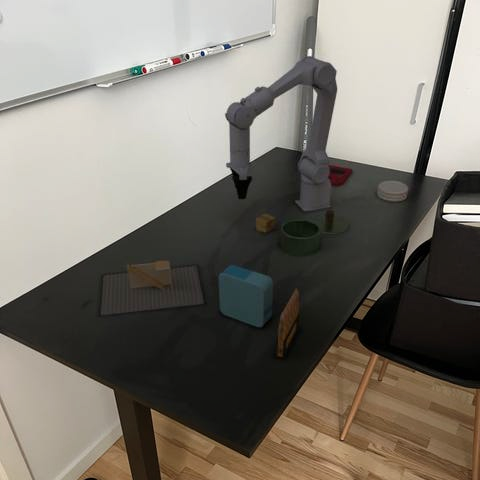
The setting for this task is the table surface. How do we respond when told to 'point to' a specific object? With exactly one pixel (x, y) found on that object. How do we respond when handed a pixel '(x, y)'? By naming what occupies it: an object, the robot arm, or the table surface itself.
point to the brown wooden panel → (288, 325)
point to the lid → (331, 223)
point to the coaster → (392, 191)
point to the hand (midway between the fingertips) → (240, 193)
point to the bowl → (297, 243)
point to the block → (265, 223)
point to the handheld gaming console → (338, 175)
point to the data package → (246, 295)
